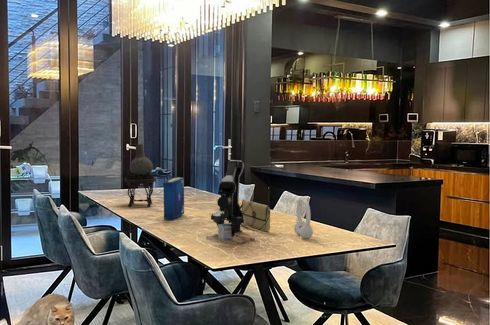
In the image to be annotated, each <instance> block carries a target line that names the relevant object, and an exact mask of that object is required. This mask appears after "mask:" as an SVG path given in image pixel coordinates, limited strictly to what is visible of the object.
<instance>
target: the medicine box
mask: <svg viewBox="0 0 490 325" xmlns="http://www.w3.org/2000/svg"><path fill="white" fill-rule="evenodd" d="M230 224H232V223H229V222H224V224H218V226H217V228H218V230H217V234H218V237H217V238H219V239H224V240H228V241H233V237H232V231H231V225H230ZM234 236H235V235H234Z"/></svg>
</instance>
